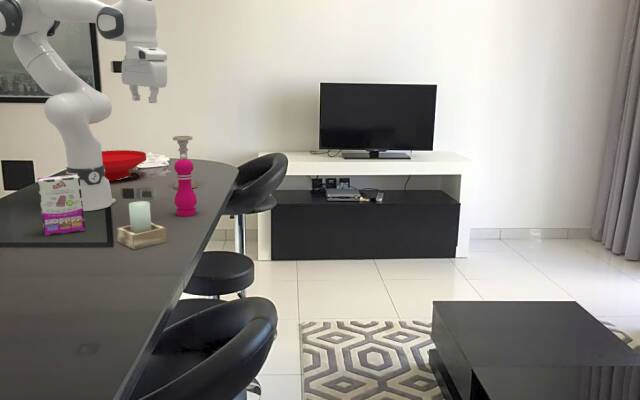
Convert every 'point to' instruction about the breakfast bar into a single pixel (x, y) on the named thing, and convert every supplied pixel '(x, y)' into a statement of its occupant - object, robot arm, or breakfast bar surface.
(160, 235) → the square wooden tray
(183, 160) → the pepper mill
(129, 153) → the bowl
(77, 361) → the breakfast bar surface
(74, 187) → the candy bar box
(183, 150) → the candle holder
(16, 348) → the breakfast bar surface
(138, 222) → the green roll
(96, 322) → the breakfast bar surface
